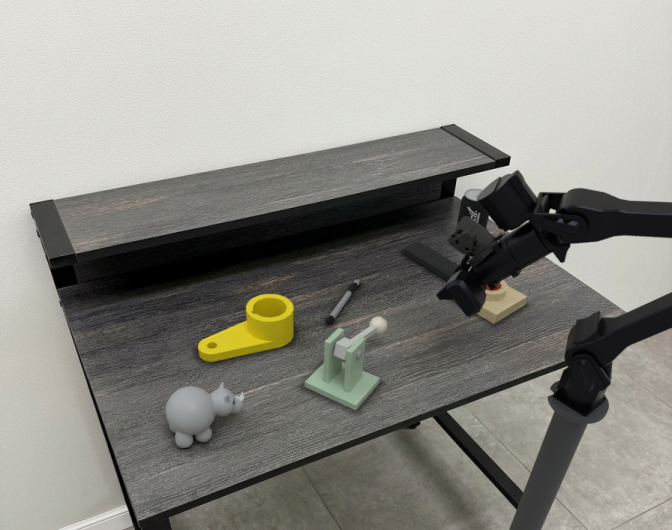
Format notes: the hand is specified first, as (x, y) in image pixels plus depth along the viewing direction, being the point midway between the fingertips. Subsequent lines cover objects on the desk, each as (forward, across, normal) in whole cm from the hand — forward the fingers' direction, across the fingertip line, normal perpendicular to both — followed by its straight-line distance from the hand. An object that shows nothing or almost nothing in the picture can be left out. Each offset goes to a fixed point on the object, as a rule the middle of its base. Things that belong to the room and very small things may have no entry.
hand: (438, 296), depth 104 cm
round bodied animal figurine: (+27, +32, -8) cm, 43 cm away
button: (+3, -22, +9) cm, 24 cm away
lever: (+13, +8, -2) cm, 15 cm away
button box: (+5, -23, +11) cm, 26 cm away
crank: (+31, +11, -13) cm, 35 cm away
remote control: (+15, -31, +1) cm, 34 cm away
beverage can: (+11, -43, +3) cm, 45 cm away
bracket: (+17, +14, +2) cm, 22 cm away
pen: (+23, -8, -6) cm, 25 cm away
